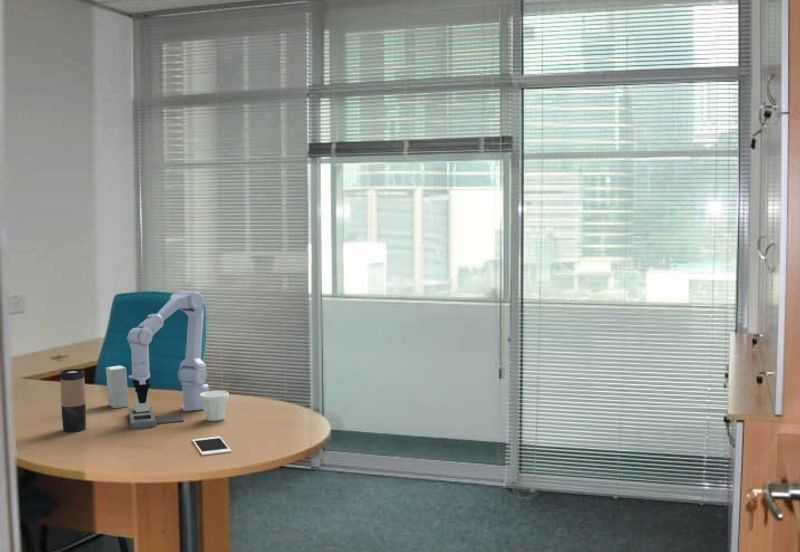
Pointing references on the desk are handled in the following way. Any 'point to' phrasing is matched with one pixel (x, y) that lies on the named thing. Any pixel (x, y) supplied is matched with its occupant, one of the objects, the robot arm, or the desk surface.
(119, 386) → the skincare box
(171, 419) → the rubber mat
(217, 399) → the cup
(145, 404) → the grey boxy piece
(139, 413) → the grey flat block
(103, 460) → the desk surface
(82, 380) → the travel mug
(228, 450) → the cell phone
